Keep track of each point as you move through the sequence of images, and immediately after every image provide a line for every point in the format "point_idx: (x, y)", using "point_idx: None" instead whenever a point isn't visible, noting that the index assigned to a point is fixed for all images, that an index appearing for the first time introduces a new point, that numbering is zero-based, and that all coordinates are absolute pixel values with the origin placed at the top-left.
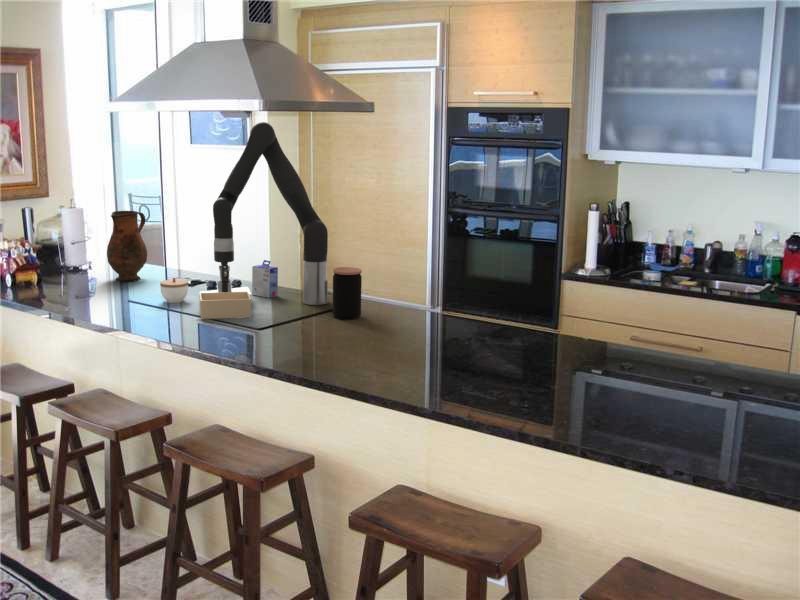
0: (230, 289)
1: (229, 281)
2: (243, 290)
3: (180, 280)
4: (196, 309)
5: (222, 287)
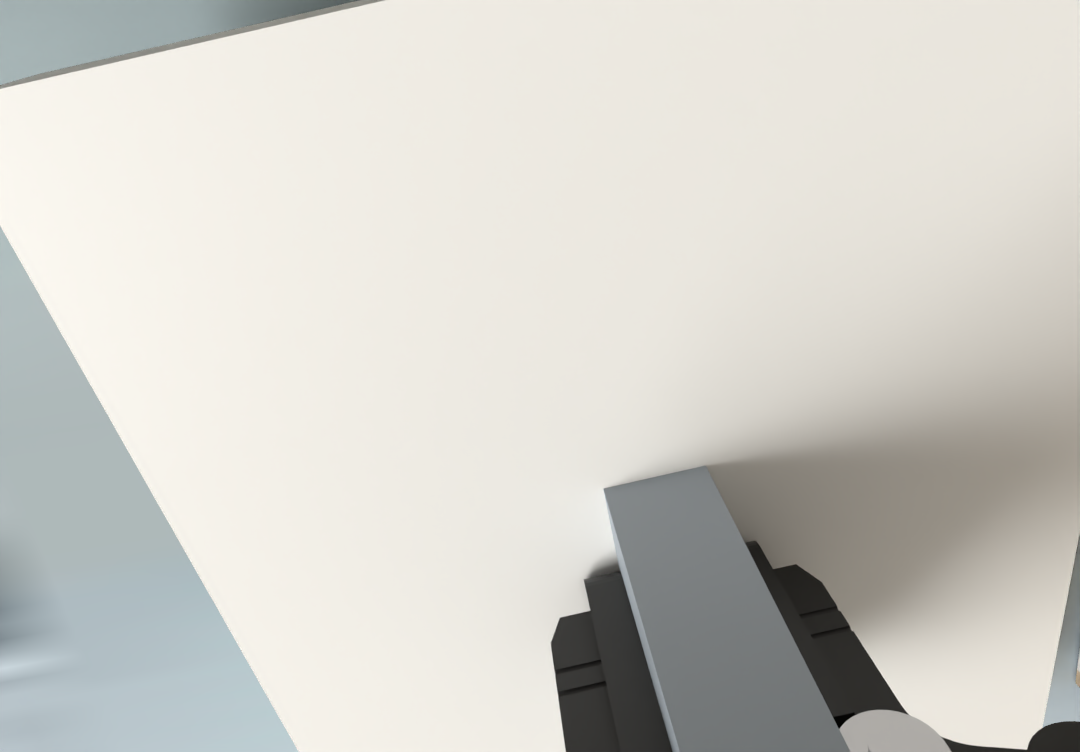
0: (738, 538)
1: (840, 750)
2: (534, 188)
3: None
4: None
5: None
